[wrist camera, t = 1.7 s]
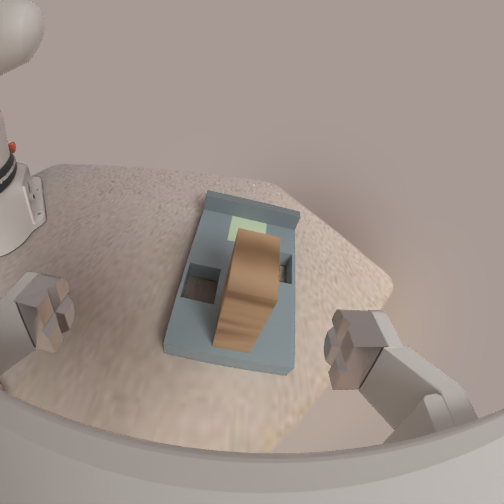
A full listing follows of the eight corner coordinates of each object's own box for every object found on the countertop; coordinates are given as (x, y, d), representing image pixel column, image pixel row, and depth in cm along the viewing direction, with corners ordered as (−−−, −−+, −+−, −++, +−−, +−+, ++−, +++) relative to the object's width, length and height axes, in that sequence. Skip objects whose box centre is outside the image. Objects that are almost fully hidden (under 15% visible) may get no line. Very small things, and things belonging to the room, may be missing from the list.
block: (249, 353, 34) (277, 300, 26) (212, 346, 34) (227, 289, 25) (254, 299, 40) (280, 237, 31) (221, 292, 40) (238, 227, 31)
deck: (286, 375, 36) (303, 358, 32) (164, 352, 35) (162, 332, 31) (289, 236, 55) (299, 211, 50) (203, 216, 53) (207, 190, 49)
